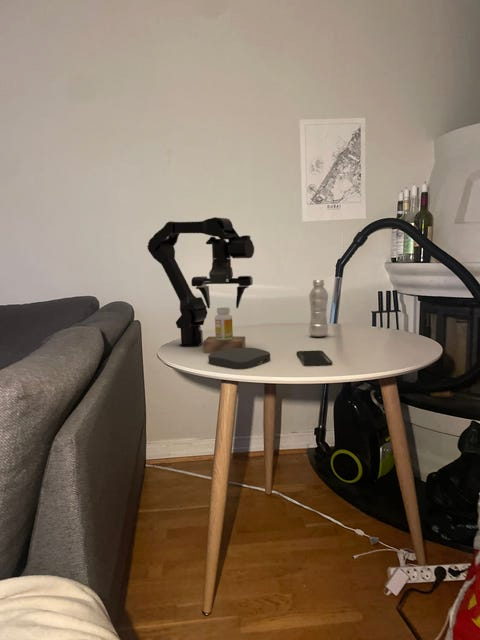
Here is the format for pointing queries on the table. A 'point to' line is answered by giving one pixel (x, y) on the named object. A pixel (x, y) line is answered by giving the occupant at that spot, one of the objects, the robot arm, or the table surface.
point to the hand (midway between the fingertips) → (223, 308)
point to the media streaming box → (239, 358)
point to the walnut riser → (223, 344)
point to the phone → (313, 358)
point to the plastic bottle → (318, 309)
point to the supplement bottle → (223, 324)
